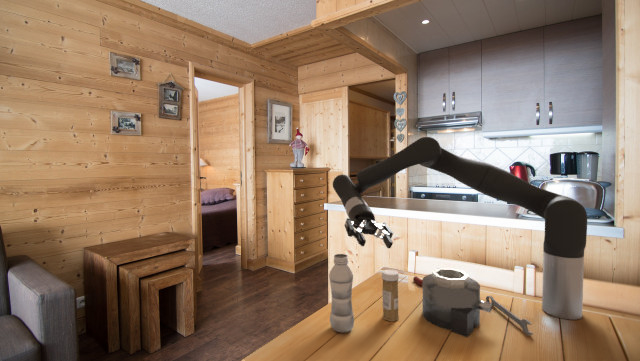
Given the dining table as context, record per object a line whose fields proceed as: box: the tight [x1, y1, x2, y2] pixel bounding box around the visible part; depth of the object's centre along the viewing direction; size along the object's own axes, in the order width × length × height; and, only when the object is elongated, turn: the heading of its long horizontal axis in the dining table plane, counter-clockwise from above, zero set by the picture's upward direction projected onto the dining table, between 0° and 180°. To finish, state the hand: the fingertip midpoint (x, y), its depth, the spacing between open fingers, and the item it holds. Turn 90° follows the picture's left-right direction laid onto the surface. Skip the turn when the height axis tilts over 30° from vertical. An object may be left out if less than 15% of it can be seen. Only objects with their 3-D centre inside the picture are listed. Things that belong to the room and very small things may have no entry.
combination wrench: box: [485, 295, 534, 336], centre depth 89 cm, size 4×1×20 cm
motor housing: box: [422, 267, 493, 338], centre depth 89 cm, size 15×18×12 cm
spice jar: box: [381, 269, 400, 322], centre depth 91 cm, size 5×5×14 cm
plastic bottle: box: [328, 253, 355, 333], centre depth 85 cm, size 6×7×20 cm
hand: (377, 245), depth 91 cm, fingers open, 8 cm apart
